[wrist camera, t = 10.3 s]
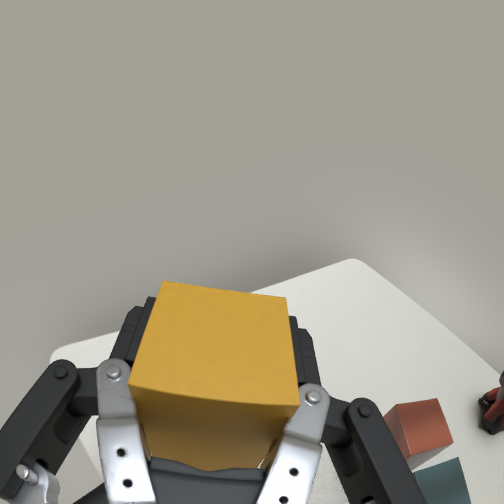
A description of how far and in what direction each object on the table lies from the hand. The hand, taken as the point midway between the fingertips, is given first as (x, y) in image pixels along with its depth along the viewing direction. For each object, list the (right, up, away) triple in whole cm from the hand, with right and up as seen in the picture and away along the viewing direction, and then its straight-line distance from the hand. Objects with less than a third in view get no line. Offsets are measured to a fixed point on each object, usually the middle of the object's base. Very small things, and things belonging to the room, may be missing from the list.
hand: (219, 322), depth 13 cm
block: (-1, -7, +1) cm, 7 cm away
